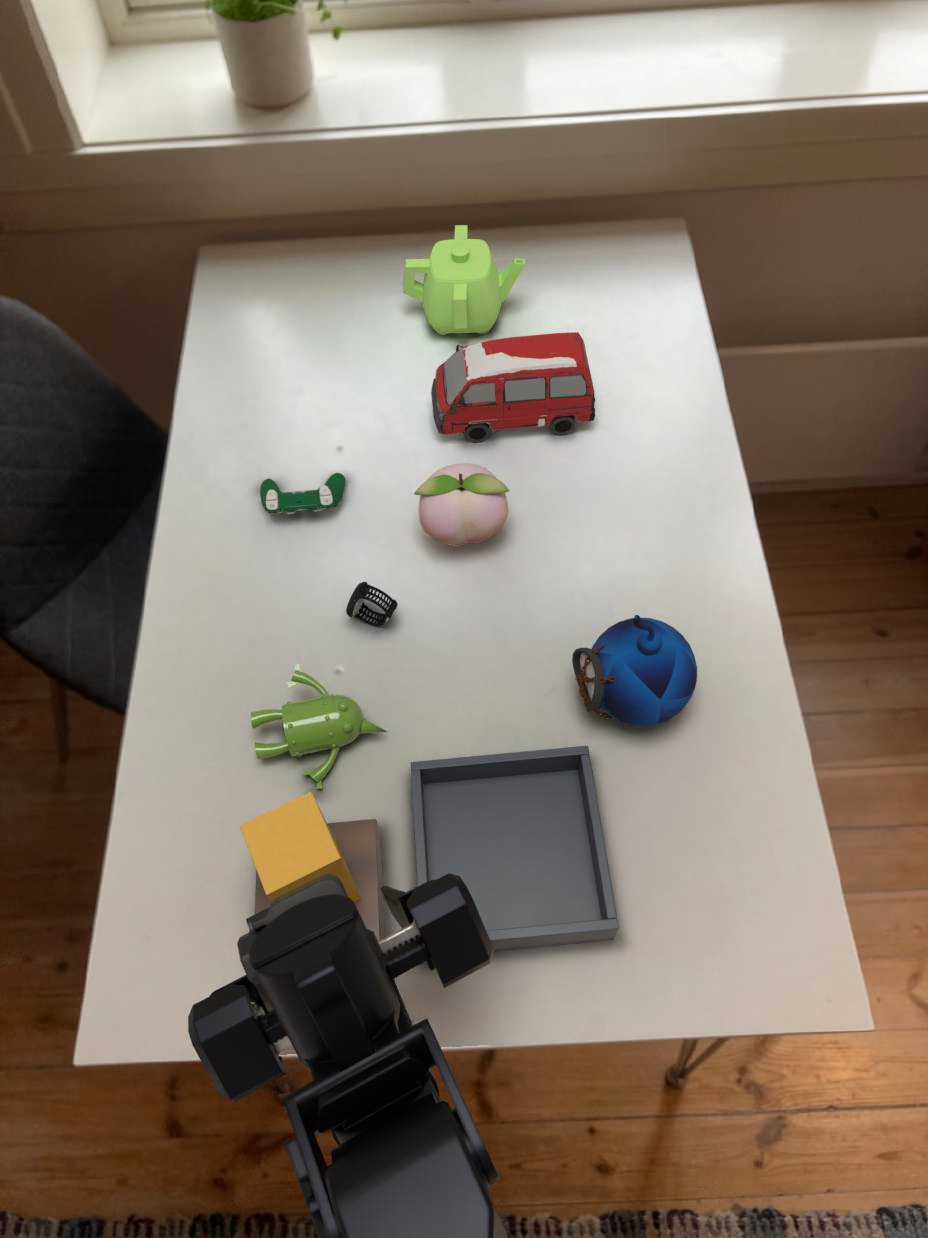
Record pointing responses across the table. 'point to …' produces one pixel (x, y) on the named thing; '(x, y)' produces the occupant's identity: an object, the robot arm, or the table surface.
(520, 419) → the toy car
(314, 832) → the puzzle block
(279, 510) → the gaming controller
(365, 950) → the robot arm
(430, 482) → the decorative fruit
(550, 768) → the tray
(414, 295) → the teapot
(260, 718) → the character figure
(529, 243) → the table surface
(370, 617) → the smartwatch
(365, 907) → the square wooden tile
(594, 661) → the bomb
